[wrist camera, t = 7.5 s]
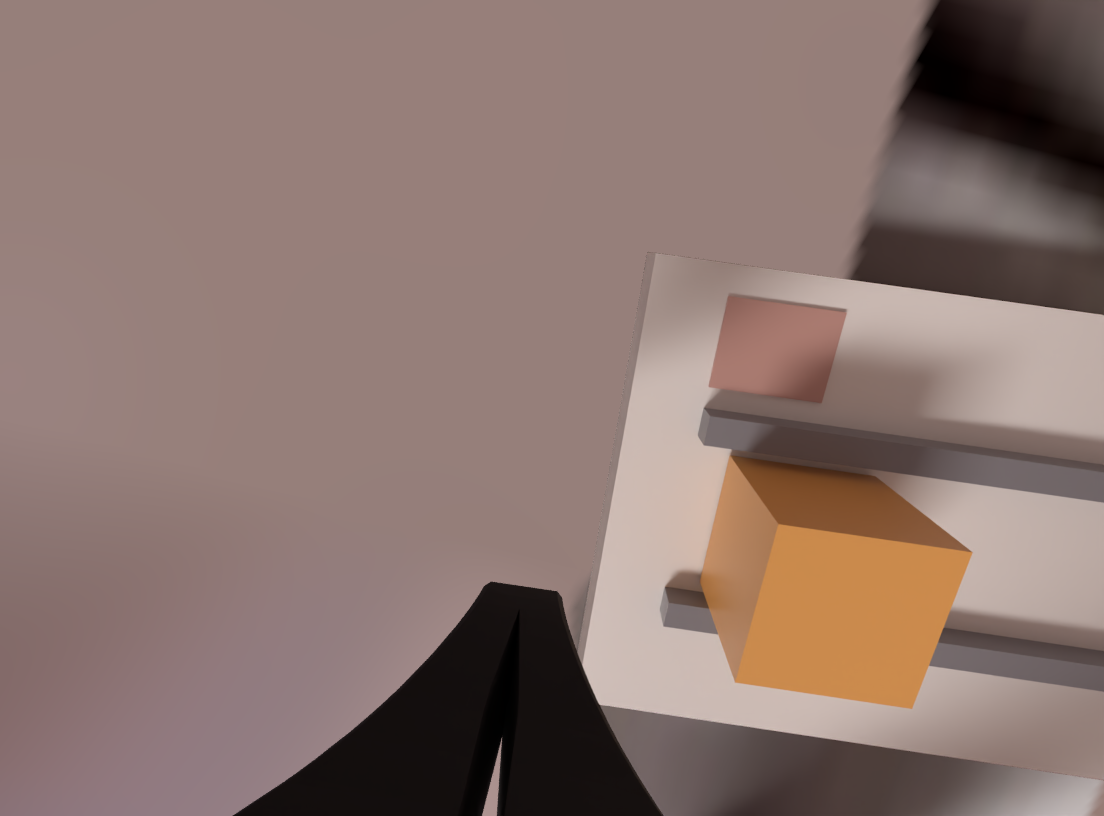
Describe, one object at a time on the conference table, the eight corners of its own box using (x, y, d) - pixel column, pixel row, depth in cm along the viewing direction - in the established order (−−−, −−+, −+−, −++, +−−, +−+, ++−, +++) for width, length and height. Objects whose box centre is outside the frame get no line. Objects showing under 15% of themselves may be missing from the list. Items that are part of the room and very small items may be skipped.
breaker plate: (1141, 741, 20) (1230, 820, 17) (576, 657, 20) (575, 721, 17) (1353, 349, 16) (1511, 371, 13) (647, 252, 16) (659, 252, 13)
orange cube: (835, 601, 16) (912, 708, 13) (699, 581, 17) (734, 682, 13) (875, 476, 15) (973, 552, 12) (729, 455, 15) (778, 524, 12)
